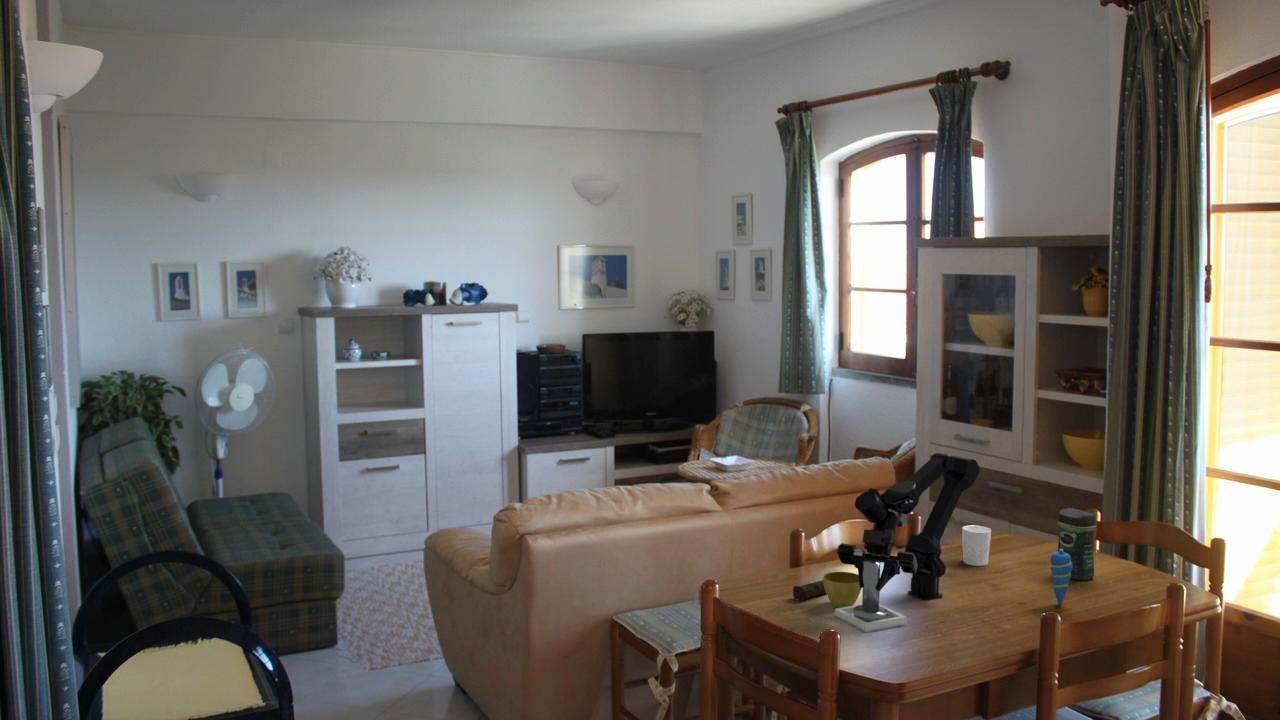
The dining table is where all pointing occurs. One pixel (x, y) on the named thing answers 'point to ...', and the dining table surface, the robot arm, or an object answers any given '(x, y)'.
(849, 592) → the flower pot
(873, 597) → the steel stop
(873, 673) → the dining table surface
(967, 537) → the white cup
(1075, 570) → the coffee jar
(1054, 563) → the ornament
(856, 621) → the tray
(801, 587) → the hand tool
